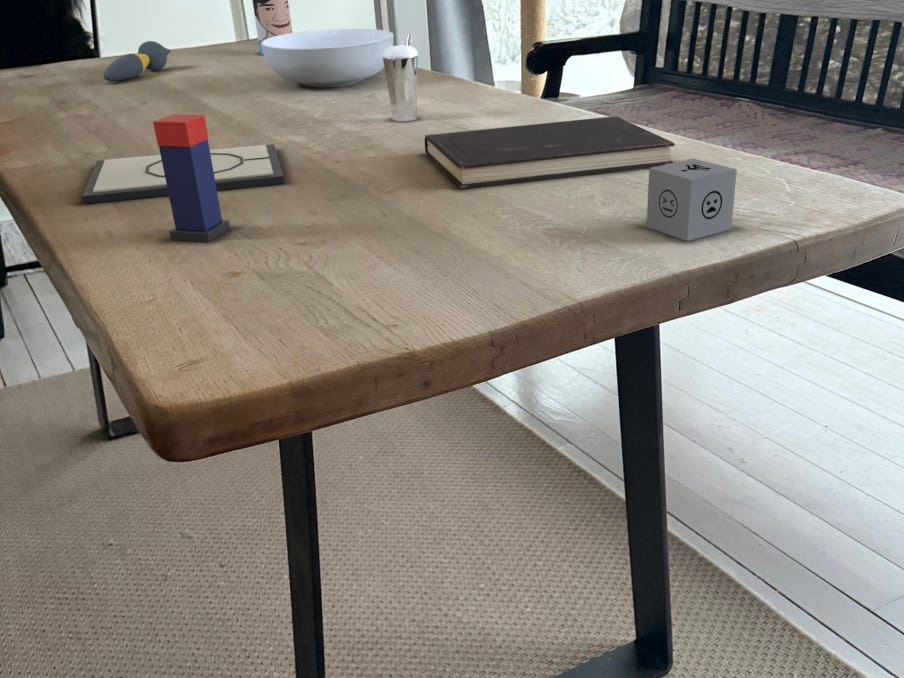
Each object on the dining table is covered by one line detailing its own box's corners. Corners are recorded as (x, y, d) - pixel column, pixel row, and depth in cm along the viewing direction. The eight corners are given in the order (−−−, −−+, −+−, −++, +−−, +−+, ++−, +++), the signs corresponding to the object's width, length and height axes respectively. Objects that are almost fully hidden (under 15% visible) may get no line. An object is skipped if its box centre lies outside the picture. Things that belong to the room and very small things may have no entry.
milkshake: (430, 115, 128) (425, 34, 123) (412, 123, 123) (406, 40, 118) (400, 113, 129) (394, 34, 124) (381, 121, 125) (374, 39, 120)
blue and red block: (170, 239, 84) (146, 122, 79) (193, 227, 87) (171, 113, 82) (209, 242, 83) (186, 123, 78) (230, 228, 86) (210, 113, 81)
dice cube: (731, 229, 80) (736, 169, 78) (687, 241, 78) (691, 179, 76) (689, 216, 84) (693, 158, 81) (646, 227, 82) (649, 168, 79)
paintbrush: (126, 84, 160) (119, 52, 158) (99, 85, 161) (92, 53, 159) (179, 66, 177) (174, 37, 174) (154, 67, 178) (149, 38, 175)
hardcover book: (673, 165, 100) (674, 142, 98) (460, 189, 95) (459, 165, 94) (613, 135, 113) (614, 115, 112) (425, 154, 108) (423, 134, 107)
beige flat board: (83, 204, 95) (81, 193, 95) (98, 167, 109) (96, 157, 108) (284, 183, 99) (283, 173, 99) (275, 150, 113) (273, 141, 112)
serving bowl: (240, 87, 153) (233, 41, 150) (337, 68, 167) (333, 26, 163) (326, 99, 141) (320, 49, 138) (423, 77, 155) (420, 31, 151)
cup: (261, 56, 185) (248, -31, 177) (259, 51, 190) (247, -32, 183) (296, 53, 186) (285, -33, 178) (293, 49, 192) (282, -35, 184)
